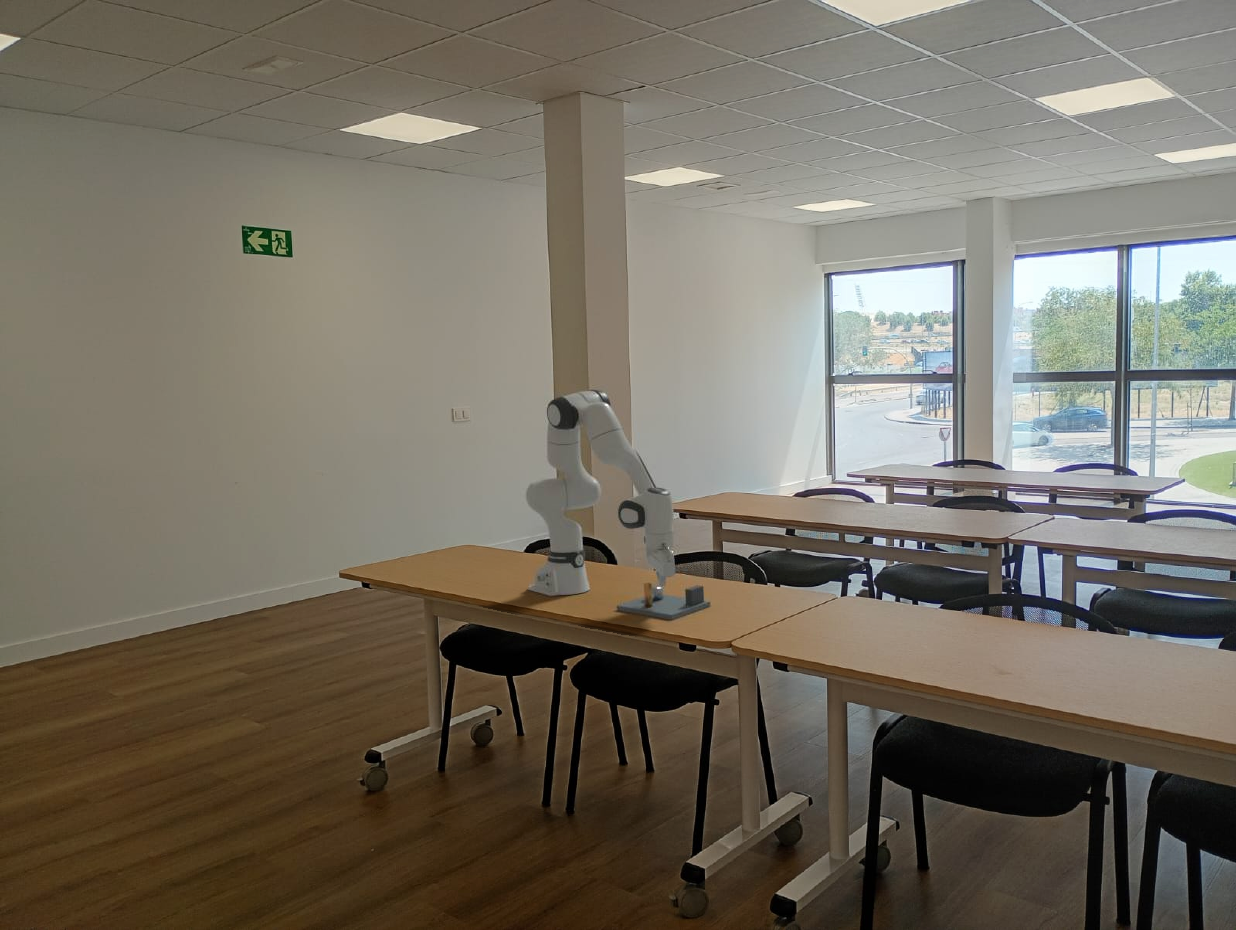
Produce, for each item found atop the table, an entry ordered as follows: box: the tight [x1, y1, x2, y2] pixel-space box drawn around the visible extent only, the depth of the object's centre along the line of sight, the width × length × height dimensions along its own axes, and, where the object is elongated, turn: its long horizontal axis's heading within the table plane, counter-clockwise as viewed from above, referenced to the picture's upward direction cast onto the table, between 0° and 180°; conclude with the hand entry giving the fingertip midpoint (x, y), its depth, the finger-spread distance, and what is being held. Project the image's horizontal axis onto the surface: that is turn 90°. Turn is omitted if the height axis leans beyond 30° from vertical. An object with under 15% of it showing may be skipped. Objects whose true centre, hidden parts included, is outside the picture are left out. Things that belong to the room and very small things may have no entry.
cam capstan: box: [643, 582, 664, 607], centre depth 298 cm, size 14×5×7 cm, turn 165°
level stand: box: [616, 584, 711, 621], centre depth 296 cm, size 22×19×6 cm
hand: (661, 585), depth 293 cm, fingers closed
